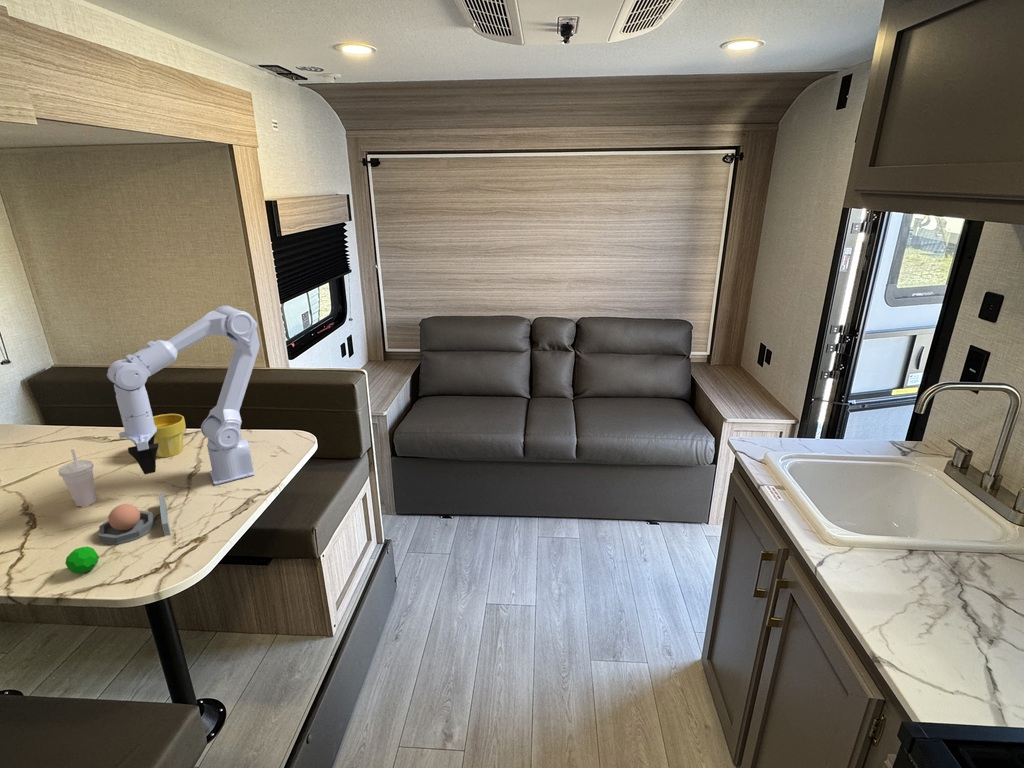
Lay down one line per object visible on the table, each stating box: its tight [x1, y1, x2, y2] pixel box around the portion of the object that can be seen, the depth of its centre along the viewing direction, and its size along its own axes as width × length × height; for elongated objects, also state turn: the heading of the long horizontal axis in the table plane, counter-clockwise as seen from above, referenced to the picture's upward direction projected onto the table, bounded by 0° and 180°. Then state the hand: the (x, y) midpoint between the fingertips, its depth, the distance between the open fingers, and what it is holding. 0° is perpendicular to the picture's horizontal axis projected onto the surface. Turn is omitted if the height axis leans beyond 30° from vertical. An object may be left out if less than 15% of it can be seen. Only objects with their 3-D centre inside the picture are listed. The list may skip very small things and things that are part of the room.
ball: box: [107, 503, 140, 530], centre depth 115 cm, size 6×6×6 cm
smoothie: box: [57, 449, 97, 507], centre depth 123 cm, size 6×6×14 cm
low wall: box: [158, 493, 171, 537], centre depth 119 cm, size 1×14×3 cm, turn 35°
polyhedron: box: [64, 546, 100, 575], centre depth 103 cm, size 5×5×5 cm
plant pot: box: [153, 413, 187, 458], centre depth 148 cm, size 10×10×10 cm
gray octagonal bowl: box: [98, 510, 157, 546], centre depth 116 cm, size 10×10×2 cm
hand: (149, 465), depth 124 cm, fingers open, 7 cm apart
